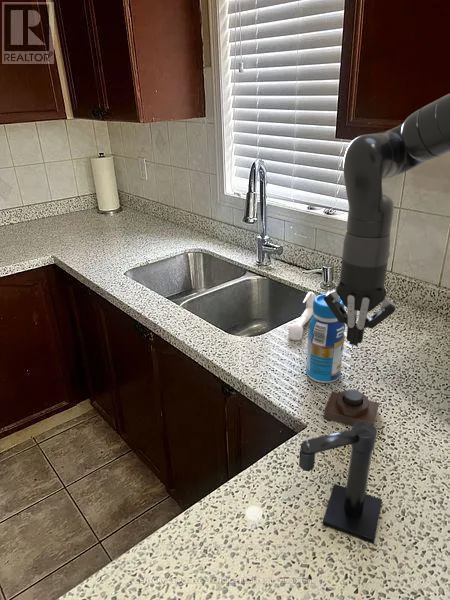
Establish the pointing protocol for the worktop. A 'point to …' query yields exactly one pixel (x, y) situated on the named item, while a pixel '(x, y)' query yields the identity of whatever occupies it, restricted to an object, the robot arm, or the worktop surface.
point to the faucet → (302, 318)
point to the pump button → (352, 398)
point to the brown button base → (350, 410)
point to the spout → (338, 443)
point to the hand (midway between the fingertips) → (354, 342)
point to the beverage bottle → (324, 343)
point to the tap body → (354, 502)
